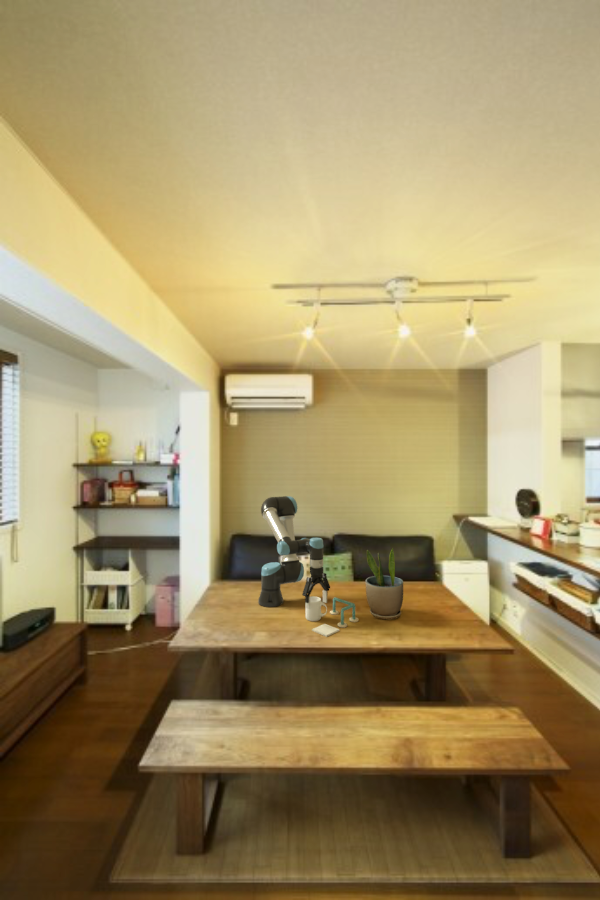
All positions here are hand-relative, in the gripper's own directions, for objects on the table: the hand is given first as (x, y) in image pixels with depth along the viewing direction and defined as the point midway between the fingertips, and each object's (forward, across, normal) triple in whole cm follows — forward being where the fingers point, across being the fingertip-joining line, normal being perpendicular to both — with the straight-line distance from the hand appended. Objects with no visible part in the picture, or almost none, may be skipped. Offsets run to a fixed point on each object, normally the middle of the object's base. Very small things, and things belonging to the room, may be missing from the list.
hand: (316, 605), depth 224 cm
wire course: (+8, +8, -8) cm, 14 cm away
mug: (+8, 0, +1) cm, 8 cm away
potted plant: (+8, +32, -22) cm, 40 cm away
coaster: (+8, -8, -13) cm, 17 cm away
